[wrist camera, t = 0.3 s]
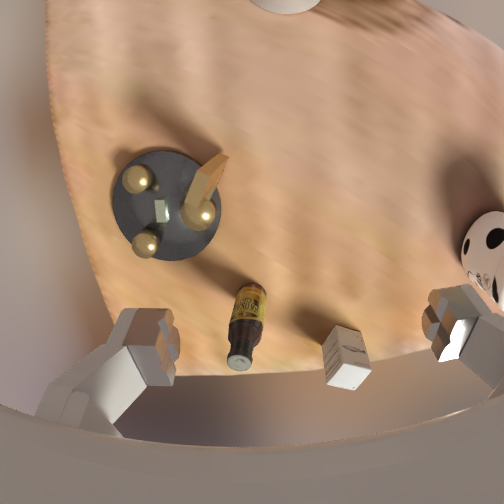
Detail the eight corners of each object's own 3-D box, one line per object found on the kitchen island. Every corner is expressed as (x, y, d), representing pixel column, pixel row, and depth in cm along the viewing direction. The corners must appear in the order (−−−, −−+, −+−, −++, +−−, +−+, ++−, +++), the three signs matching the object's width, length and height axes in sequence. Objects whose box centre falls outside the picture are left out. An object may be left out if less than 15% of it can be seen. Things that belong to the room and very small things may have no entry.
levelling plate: (109, 155, 54) (98, 159, 50) (219, 147, 52) (214, 151, 48) (124, 256, 63) (115, 265, 59) (223, 259, 62) (219, 270, 58)
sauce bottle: (262, 278, 63) (256, 346, 45) (270, 303, 66) (266, 372, 48) (231, 285, 64) (215, 352, 47) (241, 309, 67) (228, 377, 49)
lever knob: (208, 147, 51) (181, 164, 36) (240, 161, 52) (225, 183, 37) (180, 216, 57) (149, 255, 42) (209, 229, 58) (187, 272, 43)
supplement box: (362, 331, 68) (373, 370, 56) (346, 352, 71) (354, 391, 59) (335, 323, 67) (343, 363, 56) (320, 345, 70) (325, 385, 59)
